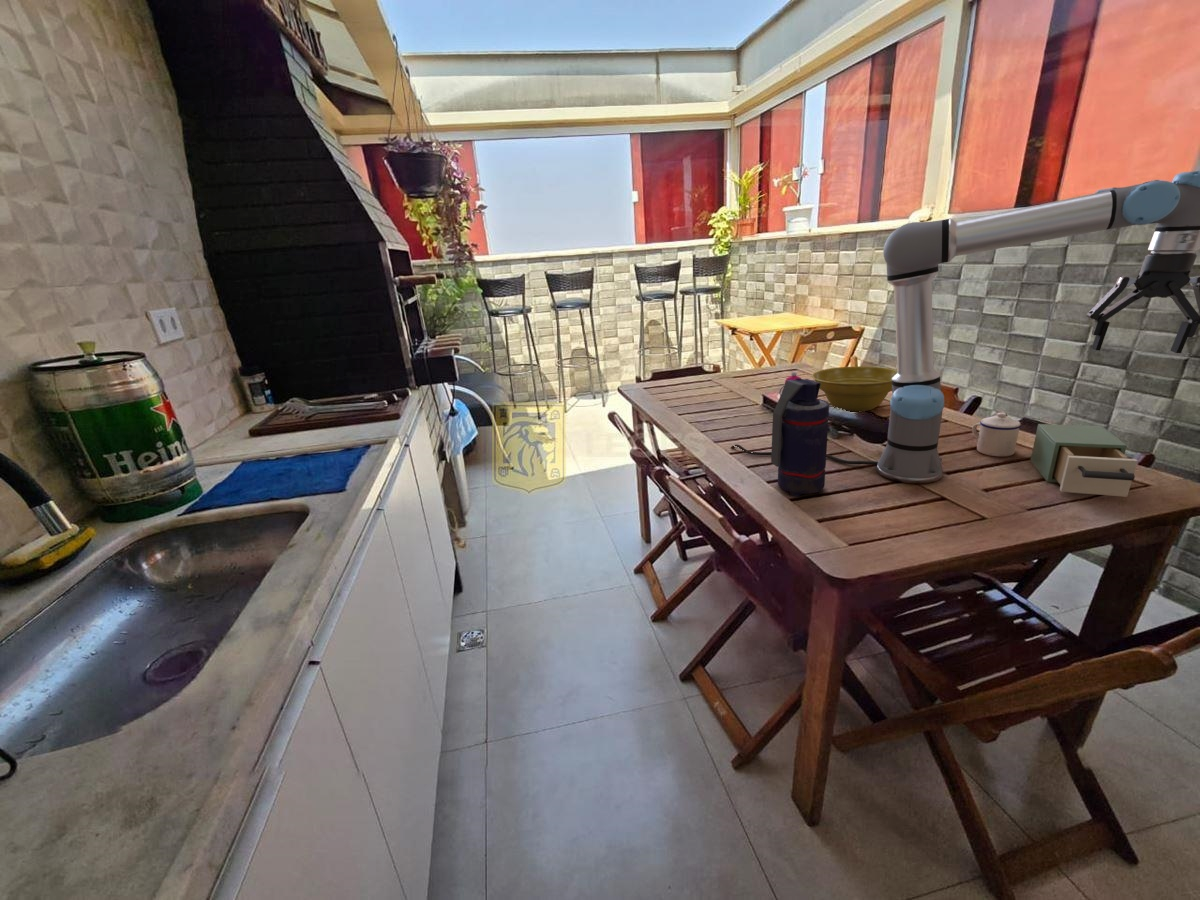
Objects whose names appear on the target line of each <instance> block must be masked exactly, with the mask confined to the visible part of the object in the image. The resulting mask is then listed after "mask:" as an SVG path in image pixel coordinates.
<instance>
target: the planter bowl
mask: <svg viewBox="0 0 1200 900" xmlns="http://www.w3.org/2000/svg"><path fill="white" fill-rule="evenodd" d="M897 372H898V370H897V369H894V368H888V367H881V366H880V367H879V366H865V365H864V366H862V365H861V366H855V365H854V366H841V367H831V368H824V369H821V370H818V371H815V372H813V373H812V374H811V378H812V379H813V380H814V381H815V382H818V383H821V385H820V389H819V390H821V391H822V392H824V395H825V398H826V399H827V400H828V401H827V402H828V403H829V405H831V406H832V407H834V406H835V407H838V408H842V409H845V410H850V411H849V412H866V411H872V410H874V409H875V408H877V407H879V406H880V405H881V403H882V402H883V401H884V400H885V399H886V397H887V395H888V394H889V393H891V391H892V378H893V377H894V376H895V375H896V374H897ZM835 407H834V408H835Z"/></svg>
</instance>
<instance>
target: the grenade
mask: <svg viewBox="0 0 1200 900" xmlns="http://www.w3.org/2000/svg"><path fill="white" fill-rule="evenodd" d="M820 385H821V383H818V382H815V380H812V379H808V378H801V379H794V380H787V381H786V383H785V382H784V385H782V386H781V387H780V389H779V392H778V393H779V398H778V401H777V403H776V405H775V407H774V410H773V411H772V430H771V451H770V452H771V455H770V463H771V464H773V465H774V466H775V467H776V468H777V485H778V487H780V488H781V489H783V490H785V491H787V492H789V494H790V495H791V496H793V497H801V495H810V494H815V493H818V494H819V493H822V491H823V490H824V488H825V486H826V485H825V484H826V467H827V458H826V454H828V453H827V450H828V435H829V434H828V433H829V432H828V431H829V416H830V415H829V414H830V402H829V401H826V400H824V399H821V398H819V397H818V396H819V392H820V390H821V389H820Z"/></svg>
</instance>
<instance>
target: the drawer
mask: <svg viewBox="0 0 1200 900" xmlns="http://www.w3.org/2000/svg"><path fill="white" fill-rule="evenodd" d="M1138 462H1139V461H1138V459H1136V458H1129V457H1128V456H1127V455H1126V454H1123V453H1122V452H1120V451H1119V450H1118V449H1117V448H1103V447H1081V446H1059V450H1058V454H1057V459H1056V463H1055V467H1054V472H1053V476H1054V478H1055V479H1056V480H1057V481H1058V482H1059V483H1058V484H1059V485H1060V486H1059V491H1060V492H1061V493H1072V494H1084V495H1085V494H1086V495H1100V496H1113V497H1122V498H1123V497H1124V498H1126V497H1128V496H1129V493H1130V489H1131V485H1132V483H1133V481H1134V480H1135V477H1136V475H1135V472H1136V468H1137V465H1138Z"/></svg>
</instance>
